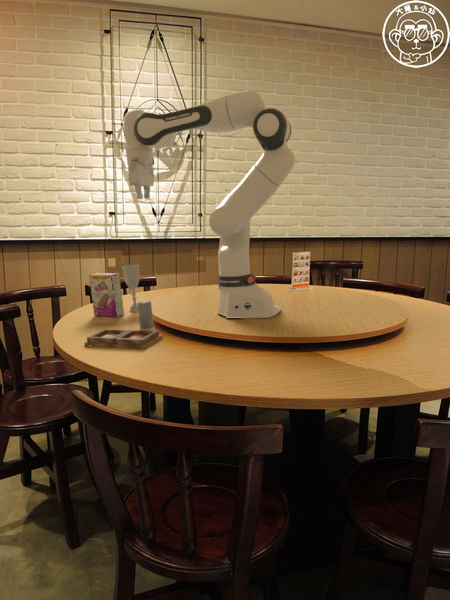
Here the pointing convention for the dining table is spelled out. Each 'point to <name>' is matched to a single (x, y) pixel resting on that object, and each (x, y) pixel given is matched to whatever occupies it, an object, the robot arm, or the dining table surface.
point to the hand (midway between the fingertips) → (143, 199)
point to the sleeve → (145, 315)
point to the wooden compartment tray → (124, 338)
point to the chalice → (132, 282)
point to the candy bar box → (106, 294)
